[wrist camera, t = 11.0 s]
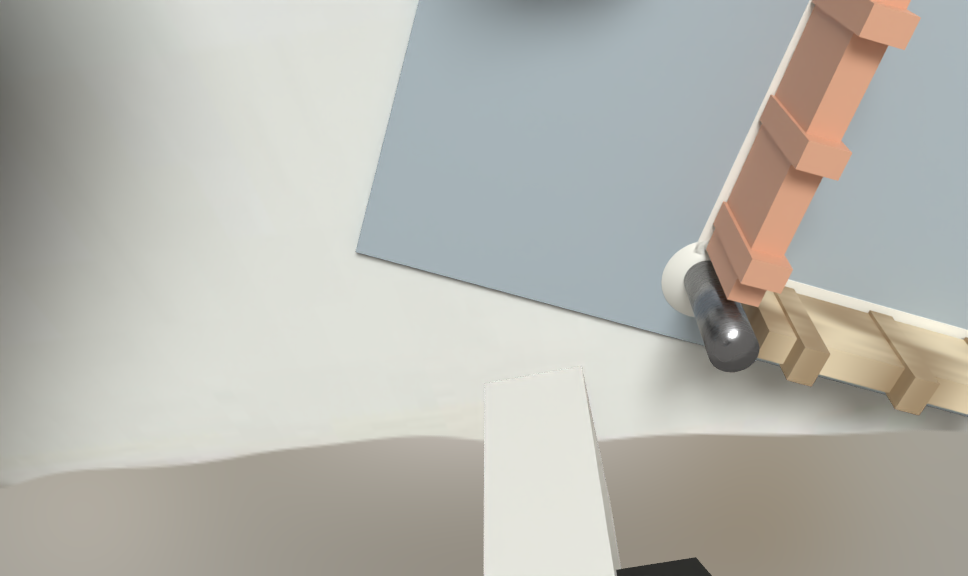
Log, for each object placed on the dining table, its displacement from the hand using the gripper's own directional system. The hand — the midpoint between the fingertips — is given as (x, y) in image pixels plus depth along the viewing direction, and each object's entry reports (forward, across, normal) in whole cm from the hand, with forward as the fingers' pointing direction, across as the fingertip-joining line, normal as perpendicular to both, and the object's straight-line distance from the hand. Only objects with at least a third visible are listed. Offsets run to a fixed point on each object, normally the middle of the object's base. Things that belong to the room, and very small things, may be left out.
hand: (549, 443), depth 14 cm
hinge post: (+21, +6, -10) cm, 24 cm away
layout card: (+21, +8, -6) cm, 24 cm away
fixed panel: (+21, +12, -14) cm, 28 cm away
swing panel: (+21, +9, -4) cm, 23 cm away
